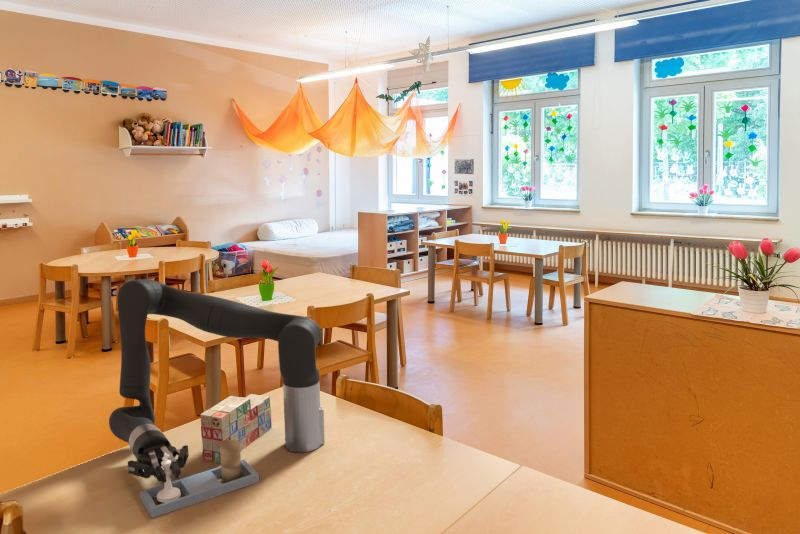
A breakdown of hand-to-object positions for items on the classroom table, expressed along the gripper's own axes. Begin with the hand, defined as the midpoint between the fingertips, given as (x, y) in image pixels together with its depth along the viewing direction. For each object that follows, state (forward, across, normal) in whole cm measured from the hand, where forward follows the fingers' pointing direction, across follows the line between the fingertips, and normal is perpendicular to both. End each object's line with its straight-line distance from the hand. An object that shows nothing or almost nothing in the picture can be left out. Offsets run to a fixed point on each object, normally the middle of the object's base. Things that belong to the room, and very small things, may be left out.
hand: (171, 476), depth 127 cm
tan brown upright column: (-3, +14, +7) cm, 16 cm away
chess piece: (-3, 0, +6) cm, 7 cm away
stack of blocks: (-20, +22, +8) cm, 31 cm away
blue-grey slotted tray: (-3, +7, +7) cm, 10 cm away
